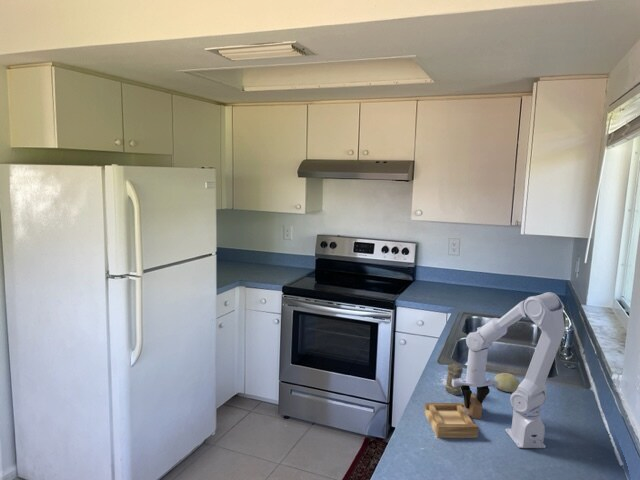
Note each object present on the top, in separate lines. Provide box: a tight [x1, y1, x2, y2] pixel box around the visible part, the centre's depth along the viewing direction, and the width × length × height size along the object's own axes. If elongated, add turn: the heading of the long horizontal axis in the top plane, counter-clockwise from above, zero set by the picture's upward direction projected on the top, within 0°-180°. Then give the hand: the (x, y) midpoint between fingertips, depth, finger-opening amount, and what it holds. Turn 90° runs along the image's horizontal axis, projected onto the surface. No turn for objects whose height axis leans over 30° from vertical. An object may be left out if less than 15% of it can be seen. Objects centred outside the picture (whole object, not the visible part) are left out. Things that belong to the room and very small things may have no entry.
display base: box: [423, 402, 479, 439], centre depth 152 cm, size 14×12×4 cm
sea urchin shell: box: [493, 372, 521, 393], centre depth 179 cm, size 9×8×8 cm
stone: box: [445, 362, 464, 396], centre depth 173 cm, size 3×6×10 cm, turn 43°
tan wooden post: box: [462, 392, 483, 420], centre depth 160 cm, size 8×3×4 cm, turn 4°
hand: (472, 406), depth 161 cm, fingers closed on tan wooden post, 3 cm apart
